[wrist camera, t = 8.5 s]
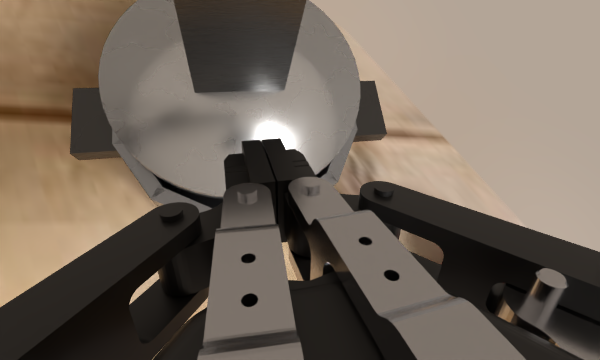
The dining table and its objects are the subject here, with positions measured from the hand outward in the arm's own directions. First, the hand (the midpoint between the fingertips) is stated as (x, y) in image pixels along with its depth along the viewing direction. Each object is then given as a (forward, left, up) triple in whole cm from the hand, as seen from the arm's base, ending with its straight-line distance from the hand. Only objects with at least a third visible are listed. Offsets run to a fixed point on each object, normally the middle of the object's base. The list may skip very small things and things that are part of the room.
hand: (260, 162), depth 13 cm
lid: (0, +7, -5) cm, 9 cm away
